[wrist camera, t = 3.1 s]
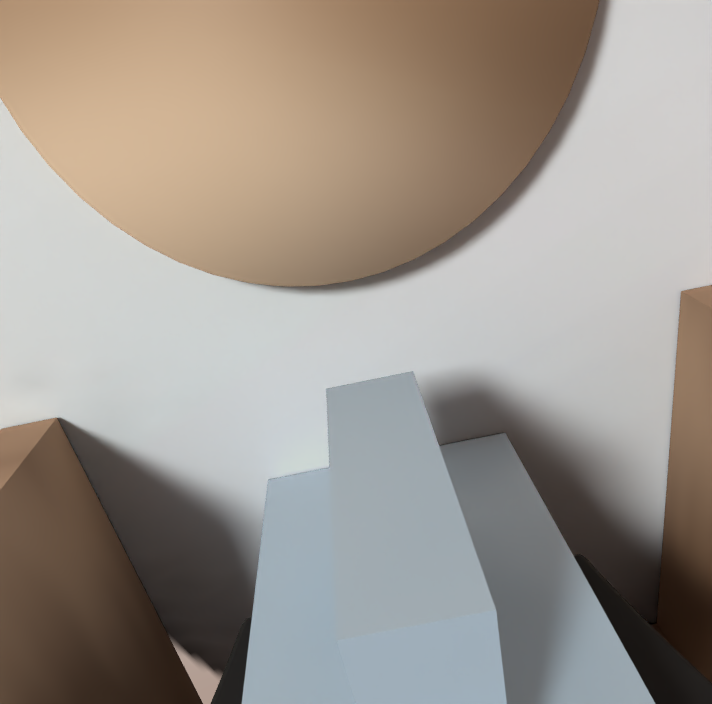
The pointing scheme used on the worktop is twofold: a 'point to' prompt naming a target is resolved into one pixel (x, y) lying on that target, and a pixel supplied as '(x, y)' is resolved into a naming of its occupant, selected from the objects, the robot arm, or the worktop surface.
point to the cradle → (139, 619)
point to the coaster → (290, 120)
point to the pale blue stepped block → (422, 575)
